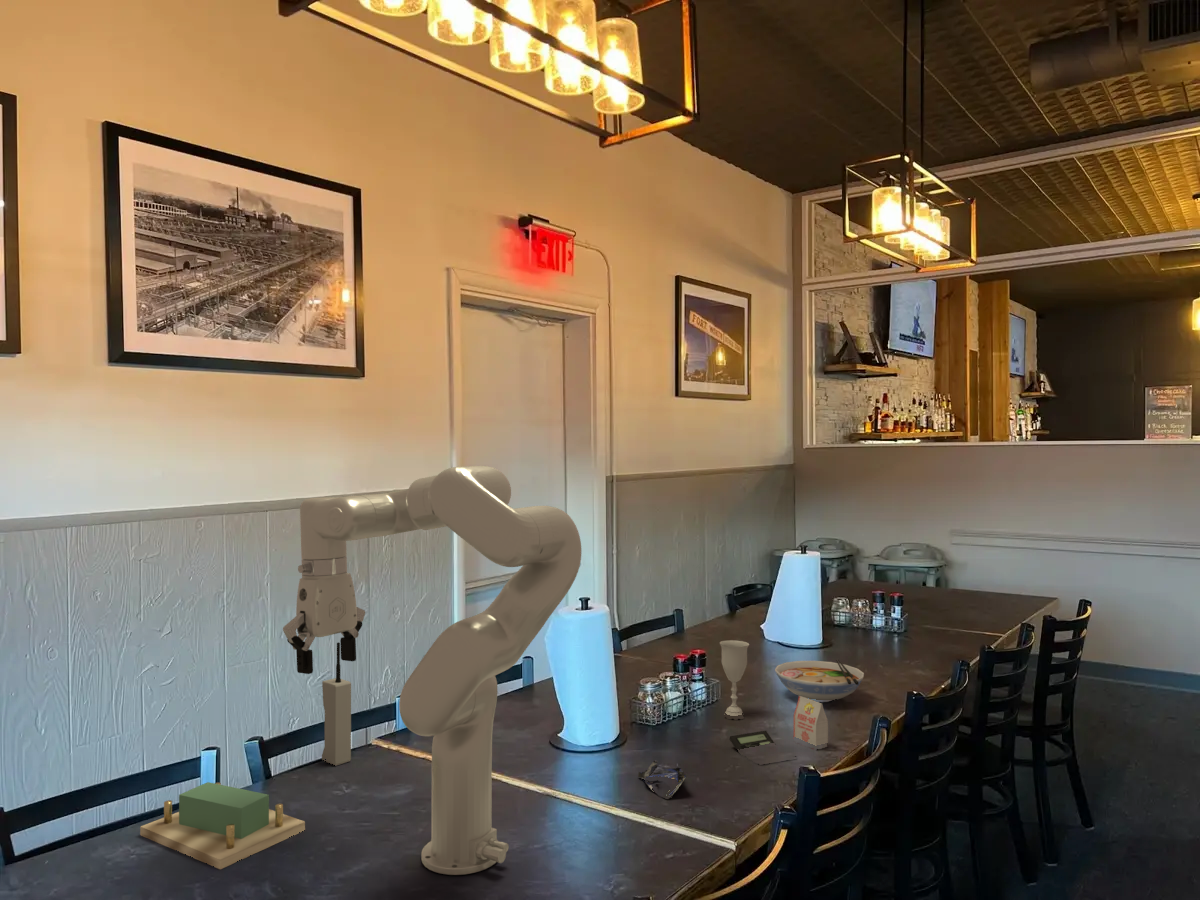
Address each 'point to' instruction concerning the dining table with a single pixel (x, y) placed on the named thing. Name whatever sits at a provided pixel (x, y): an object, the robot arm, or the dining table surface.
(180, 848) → the chassis plate
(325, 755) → the vintage mobile phone
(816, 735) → the paper takeout bag
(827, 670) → the ramen bowl
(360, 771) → the dining table surface
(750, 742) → the calculator
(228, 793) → the olive green box
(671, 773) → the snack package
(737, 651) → the chalice
